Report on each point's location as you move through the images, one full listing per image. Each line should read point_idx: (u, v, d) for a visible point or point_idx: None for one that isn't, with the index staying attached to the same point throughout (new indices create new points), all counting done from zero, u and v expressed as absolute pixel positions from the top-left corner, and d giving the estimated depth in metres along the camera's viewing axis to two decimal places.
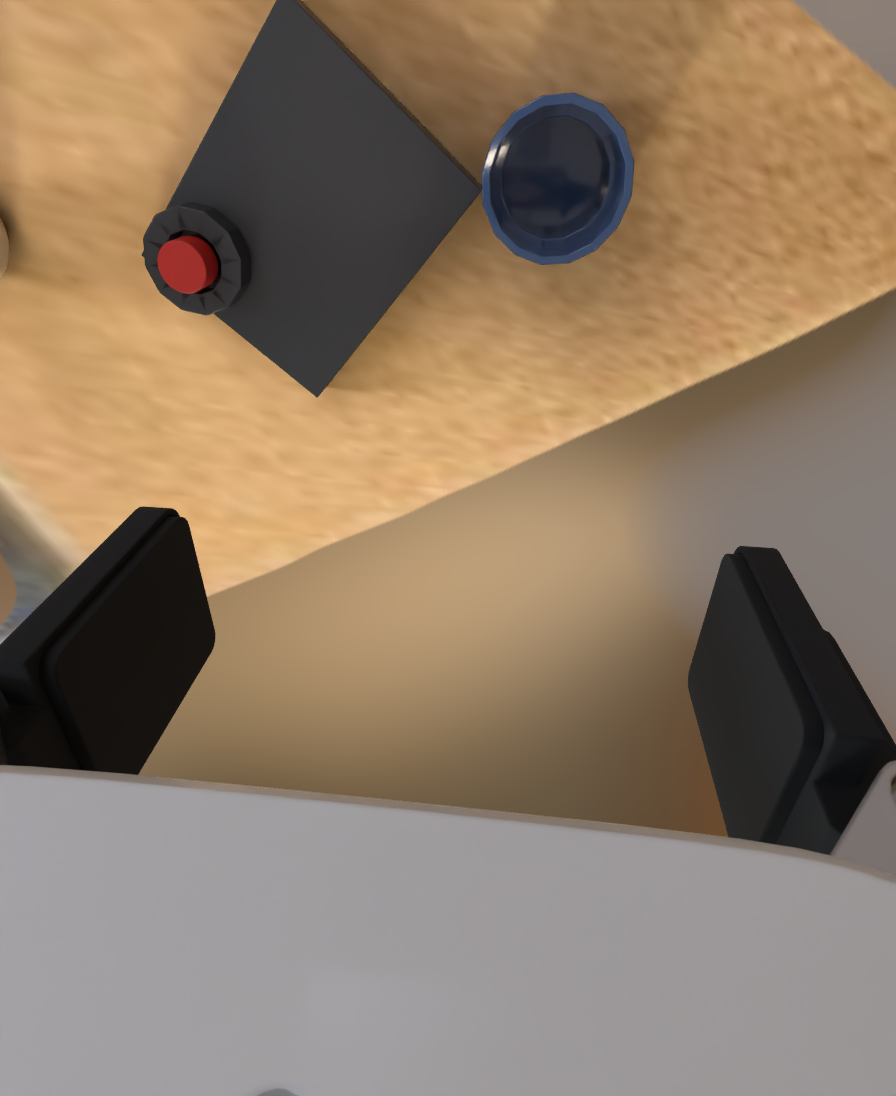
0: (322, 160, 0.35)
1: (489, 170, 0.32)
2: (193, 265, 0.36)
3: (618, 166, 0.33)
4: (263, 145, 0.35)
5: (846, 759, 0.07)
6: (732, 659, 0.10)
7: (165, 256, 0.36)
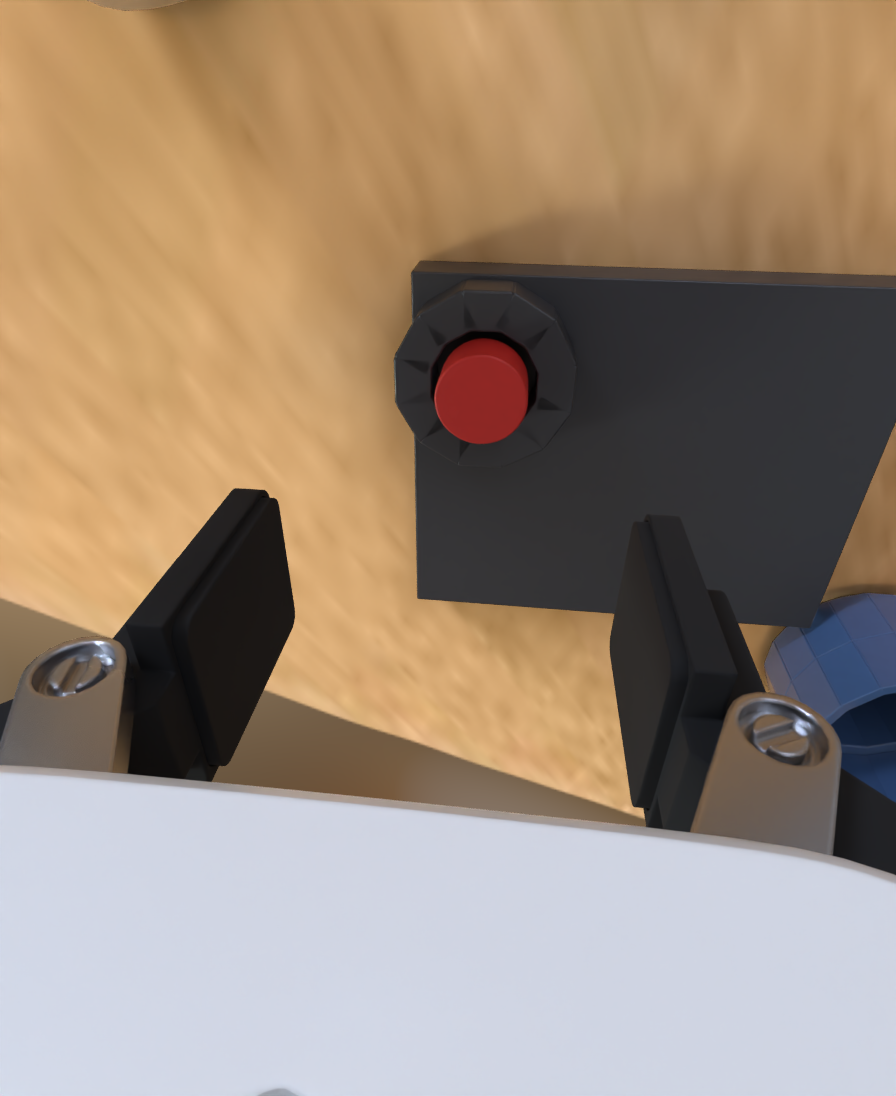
0: (739, 454, 0.23)
1: (888, 693, 0.23)
2: (498, 417, 0.20)
3: None
4: (712, 371, 0.21)
5: (707, 694, 0.08)
6: (634, 617, 0.10)
7: (478, 369, 0.19)
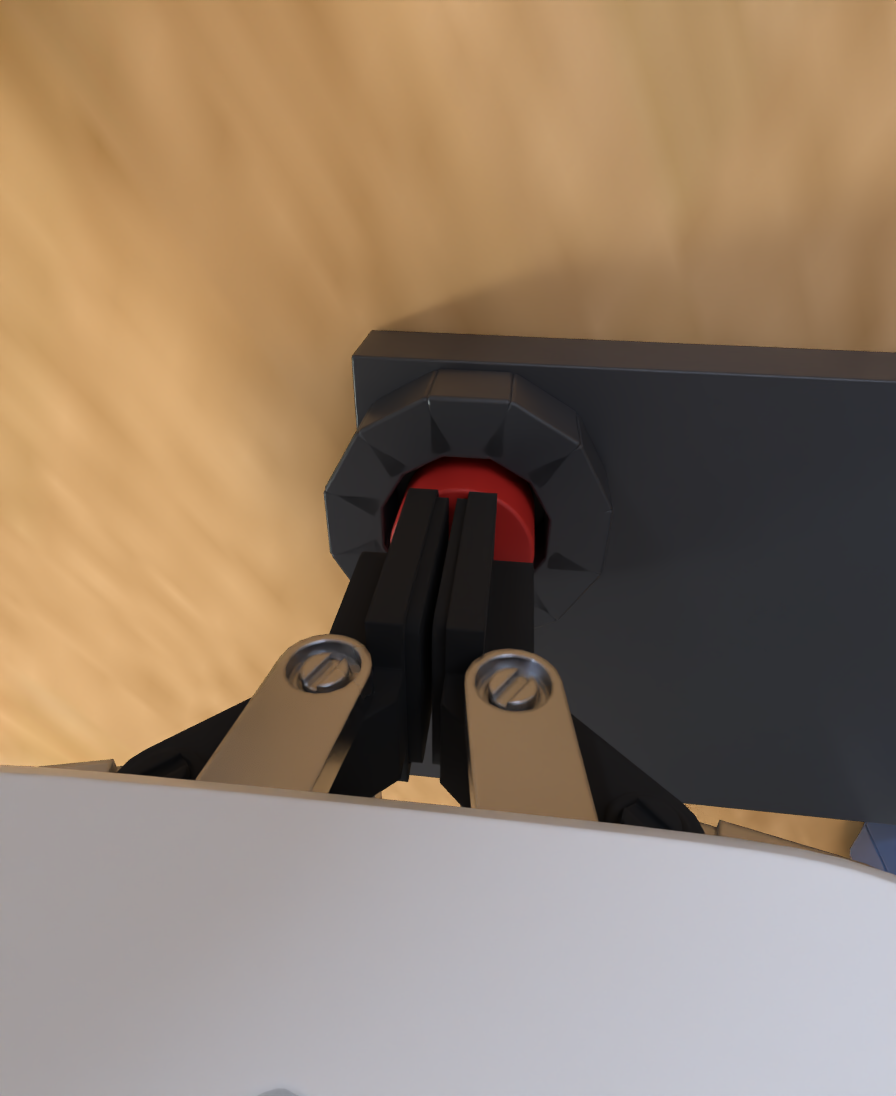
0: (849, 617, 0.15)
1: None
2: None
3: None
4: (819, 506, 0.14)
5: (462, 651, 0.09)
6: None
7: None
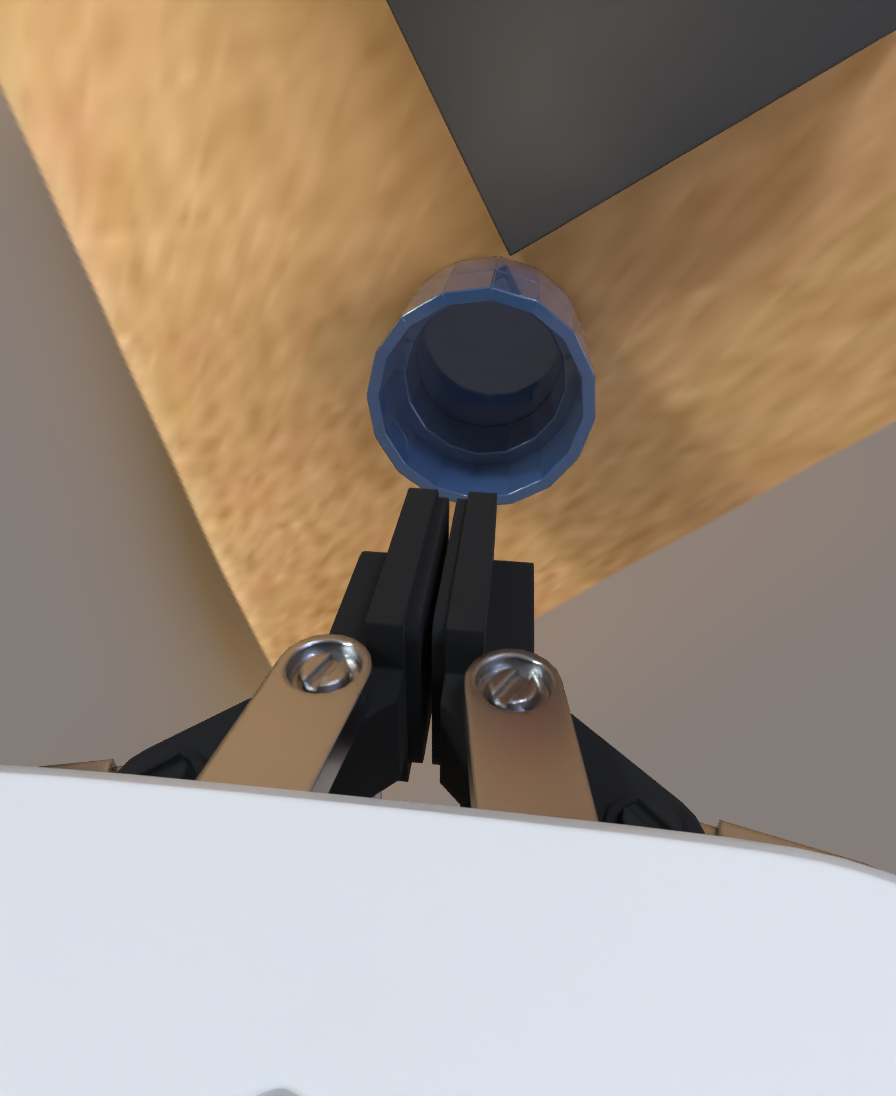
0: None
1: (537, 315, 0.19)
2: None
3: (470, 462, 0.25)
4: None
5: (462, 650, 0.09)
6: None
7: None
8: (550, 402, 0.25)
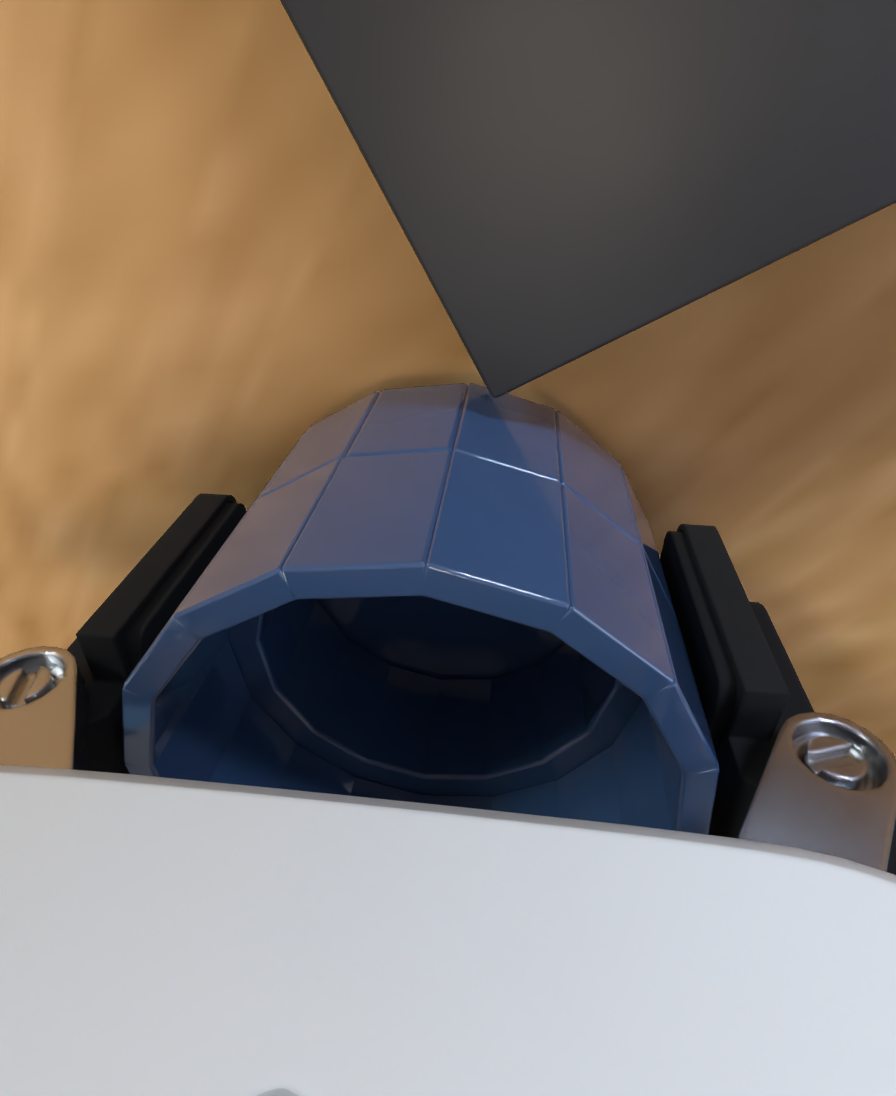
0: None
1: (564, 637, 0.06)
2: None
3: (410, 789, 0.12)
4: None
5: (756, 714, 0.08)
6: None
7: None
8: (576, 666, 0.12)
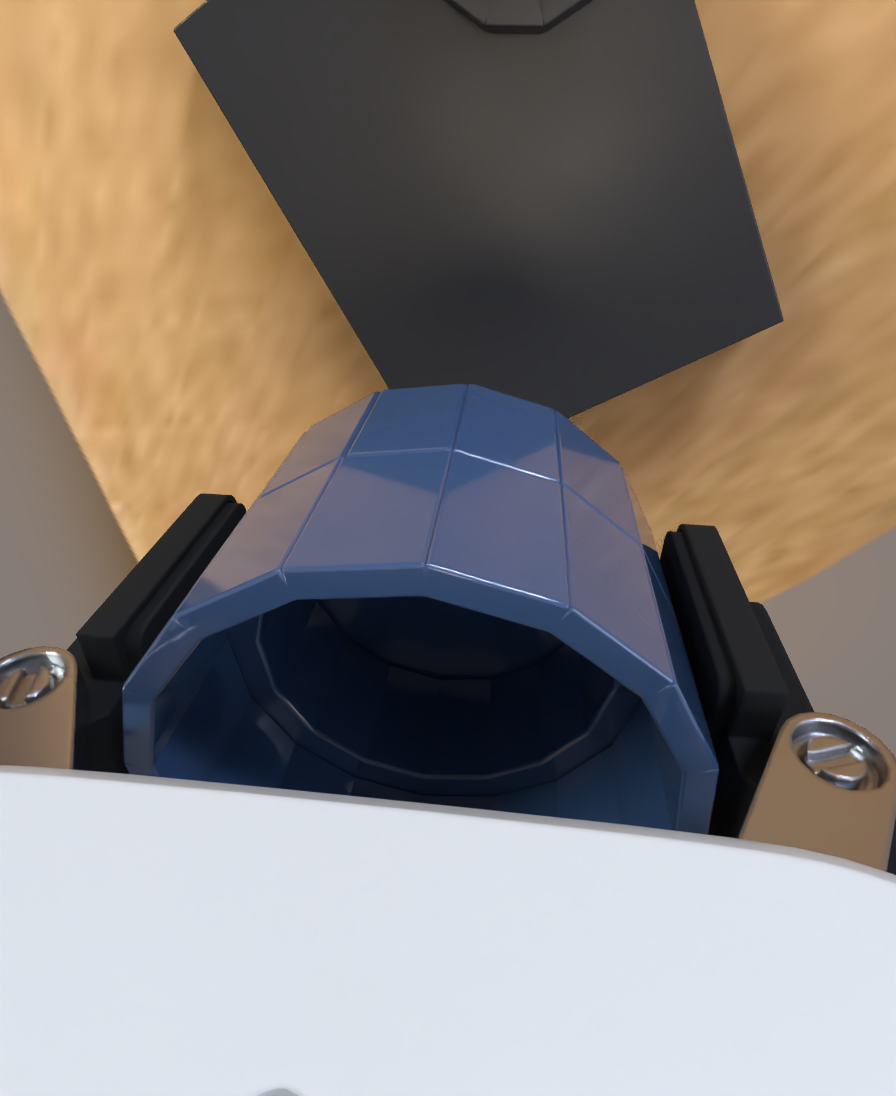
0: (569, 272, 0.21)
1: (564, 637, 0.06)
2: None
3: (410, 789, 0.12)
4: (637, 176, 0.20)
5: (756, 713, 0.08)
6: None
7: None
8: (576, 666, 0.12)
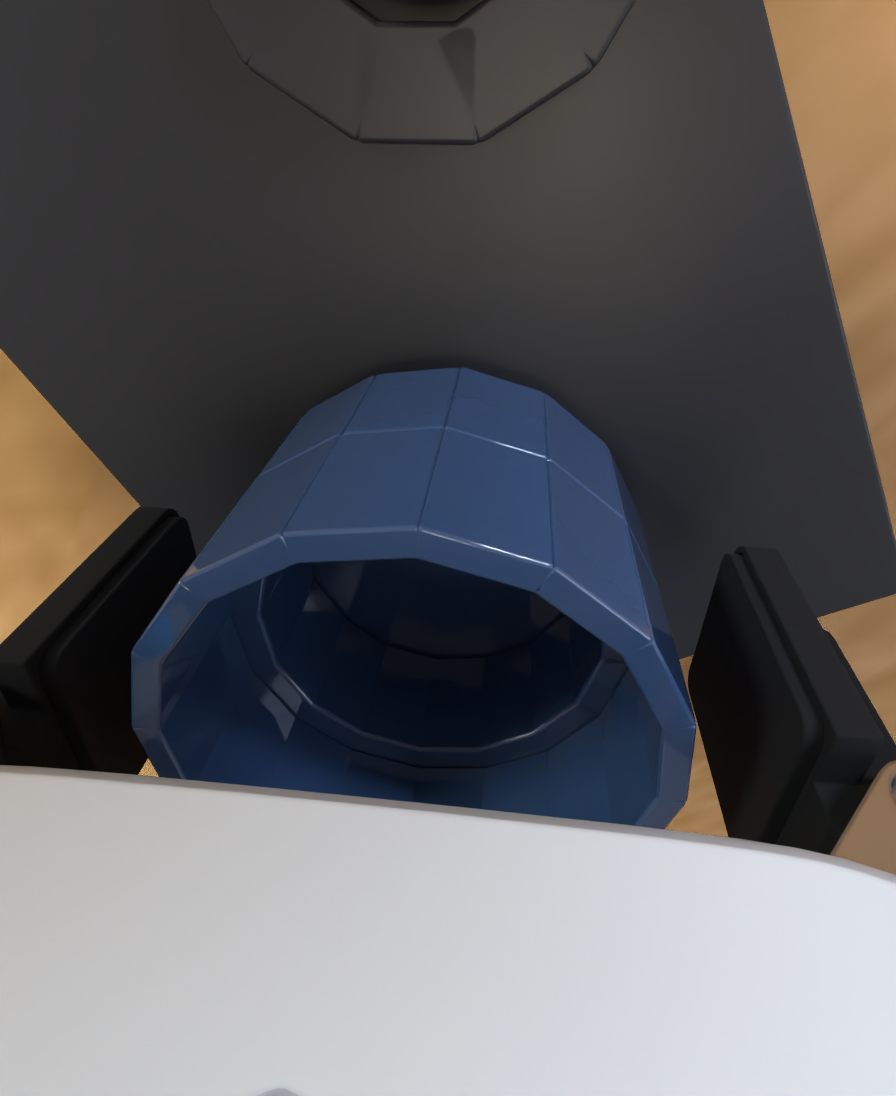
0: None
1: (548, 596, 0.07)
2: None
3: (406, 762, 0.12)
4: (663, 378, 0.11)
5: (846, 759, 0.07)
6: (732, 659, 0.10)
7: None
8: (566, 642, 0.12)
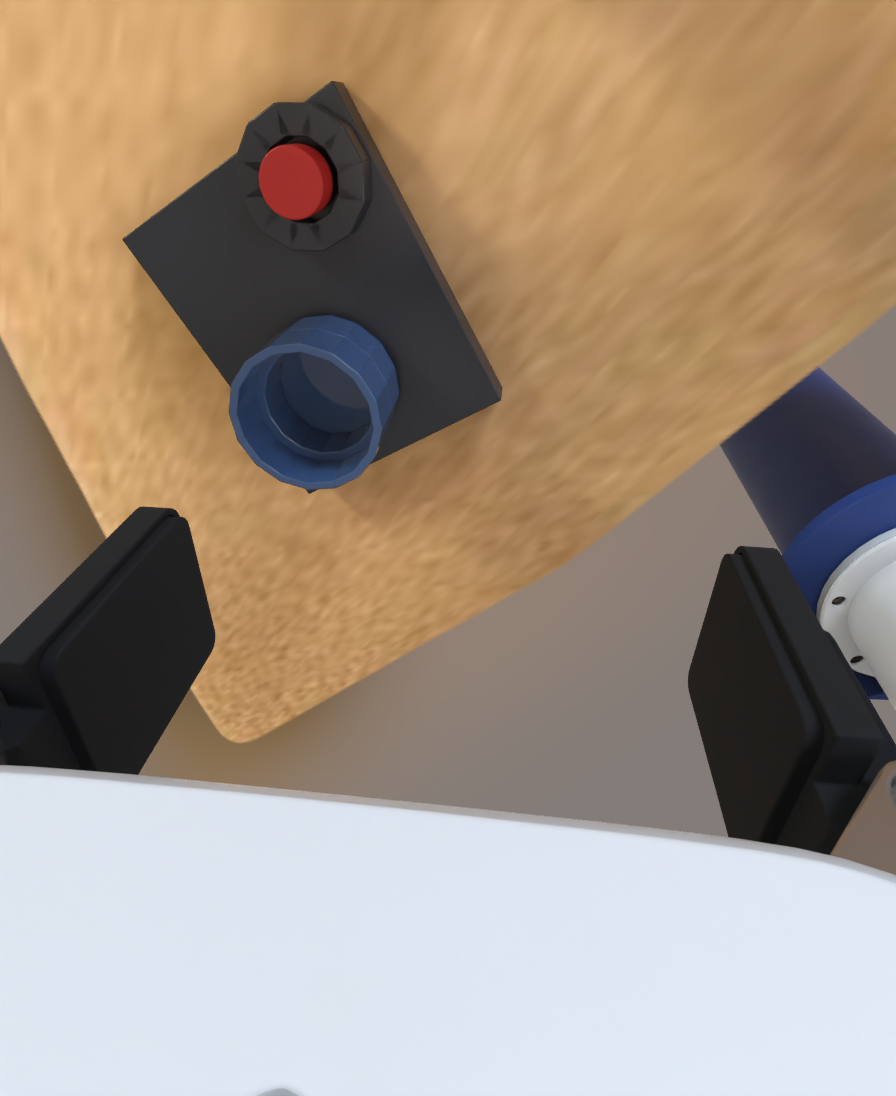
0: None
1: (332, 361, 0.29)
2: (290, 202, 0.28)
3: (316, 458, 0.34)
4: (398, 319, 0.33)
5: (846, 759, 0.07)
6: (732, 659, 0.10)
7: (306, 168, 0.27)
8: None
